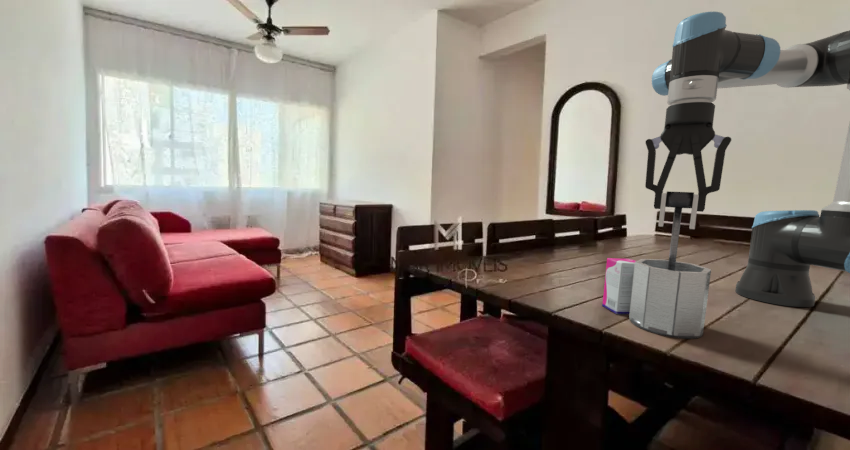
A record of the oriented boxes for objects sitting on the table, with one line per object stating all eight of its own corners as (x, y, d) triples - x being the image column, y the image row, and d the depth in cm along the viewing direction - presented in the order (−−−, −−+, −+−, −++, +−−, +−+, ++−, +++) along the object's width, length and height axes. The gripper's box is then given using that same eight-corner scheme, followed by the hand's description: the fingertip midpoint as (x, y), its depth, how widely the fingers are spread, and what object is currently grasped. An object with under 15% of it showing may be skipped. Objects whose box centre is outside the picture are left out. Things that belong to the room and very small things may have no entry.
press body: (666, 311, 84) (672, 257, 82) (719, 339, 69) (728, 274, 67) (611, 309, 84) (617, 255, 82) (653, 337, 69) (660, 272, 67)
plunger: (674, 288, 78) (685, 192, 75) (701, 300, 70) (715, 193, 68) (638, 287, 78) (648, 190, 75) (661, 299, 70) (674, 191, 68)
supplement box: (641, 314, 81) (646, 263, 80) (616, 314, 80) (620, 263, 79) (625, 305, 87) (629, 257, 85) (601, 305, 86) (605, 257, 85)
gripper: (635, 104, 71) (623, 224, 74) (754, 95, 62) (735, 233, 64) (639, 111, 78) (628, 221, 80) (748, 104, 68) (731, 230, 71)
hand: (676, 226), depth 72 cm, fingers closed on plunger, 4 cm apart
